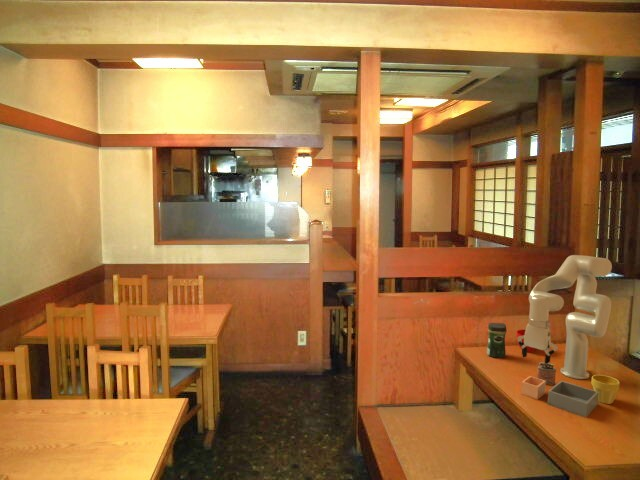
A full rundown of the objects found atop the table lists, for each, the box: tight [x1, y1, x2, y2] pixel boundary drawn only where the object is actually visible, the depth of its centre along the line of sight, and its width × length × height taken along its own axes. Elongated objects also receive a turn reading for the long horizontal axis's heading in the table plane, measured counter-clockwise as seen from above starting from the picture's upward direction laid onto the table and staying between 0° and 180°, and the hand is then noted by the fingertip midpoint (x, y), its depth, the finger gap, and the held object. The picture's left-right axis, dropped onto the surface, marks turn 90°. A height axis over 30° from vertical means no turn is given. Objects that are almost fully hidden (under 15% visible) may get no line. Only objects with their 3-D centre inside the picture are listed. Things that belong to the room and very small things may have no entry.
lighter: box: [536, 361, 557, 386], centre depth 210 cm, size 8×3×10 cm, turn 71°
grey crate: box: [546, 380, 599, 418], centre depth 189 cm, size 15×15×6 cm
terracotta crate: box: [520, 375, 547, 400], centre depth 199 cm, size 9×7×6 cm
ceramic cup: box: [515, 329, 538, 353], centre depth 251 cm, size 13×17×10 cm
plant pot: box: [591, 374, 621, 405], centre depth 193 cm, size 10×10×10 cm
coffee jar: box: [486, 322, 507, 358], centre depth 243 cm, size 10×8×19 cm
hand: (535, 359), depth 197 cm, fingers open, 9 cm apart
